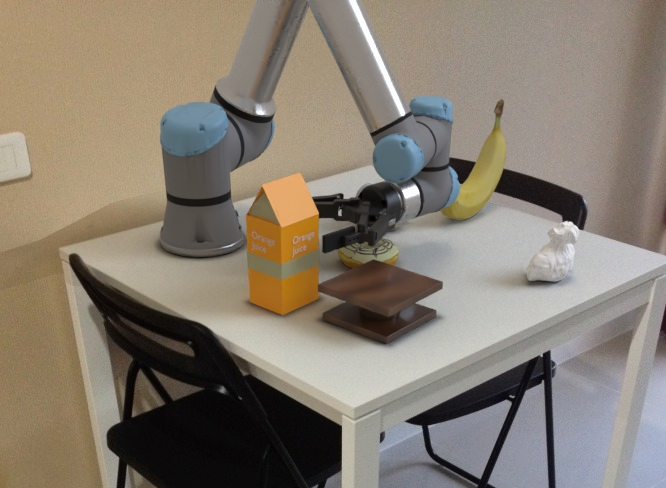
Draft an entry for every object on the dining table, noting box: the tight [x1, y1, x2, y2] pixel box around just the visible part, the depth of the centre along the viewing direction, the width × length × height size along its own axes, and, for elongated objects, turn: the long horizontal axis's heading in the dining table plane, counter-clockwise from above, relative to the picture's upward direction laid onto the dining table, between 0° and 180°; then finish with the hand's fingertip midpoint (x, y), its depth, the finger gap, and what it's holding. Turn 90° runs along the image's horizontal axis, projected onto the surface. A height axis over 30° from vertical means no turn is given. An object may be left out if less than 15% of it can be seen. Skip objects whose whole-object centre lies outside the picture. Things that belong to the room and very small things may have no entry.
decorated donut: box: [337, 237, 400, 269], centre depth 174 cm, size 10×11×4 cm
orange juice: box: [245, 171, 320, 316], centre depth 155 cm, size 8×9×20 cm
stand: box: [318, 259, 444, 345], centre depth 154 cm, size 14×14×6 cm
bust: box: [526, 220, 580, 283], centre depth 168 cm, size 12×8×11 cm
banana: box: [440, 99, 507, 221], centre depth 191 cm, size 23×6×20 cm, turn 146°
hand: (294, 232), depth 156 cm, fingers open, 13 cm apart
